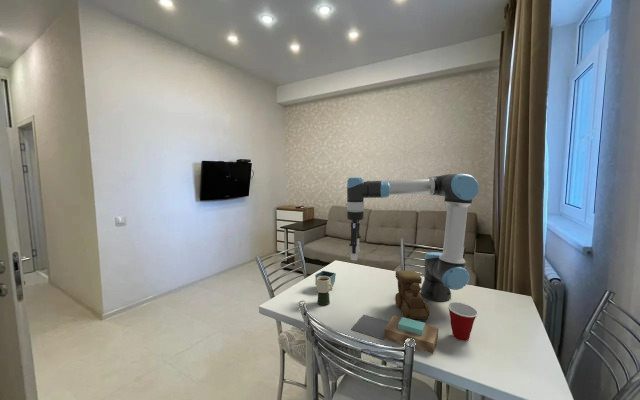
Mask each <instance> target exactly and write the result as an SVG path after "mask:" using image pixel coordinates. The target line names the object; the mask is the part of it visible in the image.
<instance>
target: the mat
mask: <svg viewBox="0 0 640 400" xmlns="http://www.w3.org/2000/svg"><path fill="white" fill-rule="evenodd" d="M389 321H390V320H385V319H381V318H378V317H375V316H370V315H367V314H363V315H361V317H360V318H359V319H358V320H357V322H355V323H354V325H353V326H352V327H351V328H350V331H354V332H357V333H360V334H363V335H366V336H369V337H373V338H376V339H379V340H382V341H384V340H385V339H384V329H385V328H386V326H387V324H388V323H389Z"/></svg>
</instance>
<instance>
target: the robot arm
mask: <svg viewBox="0 0 640 400" xmlns="http://www.w3.org/2000/svg"><path fill="white" fill-rule="evenodd" d="M346 189H347V190H346V194H347V195H346V199H347V201H346V202H347V203H345V206H347V212H346V214H347V215H346V216H347V217H346V219H348V220H349V221H352V222H351V223H350V243H349V244H348V245H349V247H350V261H358V253H360V239H362V237H361V236H360V229H361V228H360V227H361V223H360V221H362V220H364V218H365V217H364V210H365V209H364V207H365V206H364V205H365V204H364V203H365V202H364V201H365V199H367V198H368V199H371V198H372V199H374V198H375V199H376V198H377V199H380V198H381V199H383V198H384V199H385V198H388V197H390V195H391V196H394V195H395V196H397V195H398V196H400V195H424V194H427V195H429V196H438V197H443V198H444V200H443V201H444V203H445V205H446V214H445V215H446V216H445V217H446V218H445V229H444V235H443V236H444V237H443V247H442V252H438V251H437V252H436V251H434V252H433V251H431V252H427V253H425V255H424V271H423V272H424V274H423V275H424V278H423V281H422V283H421V286H420V287H421V290H420V294H421V296H422V297H423V298H425V299H427V300H429V301H430V300H431V301H435V302H447V300H448V301H450V300H451V299H452V292H451V290H452V291H459V290H461V289H463V288H464V287H466V286H467V285H468V283H469V281H470V273H469V272H468V270H467V269H466V260H465V259H464V256H463V255H464V248H465V247H464V246H465V237H466V236H465V235H466V229H467V216H468V209H469V207H470V206H471V205H473V200H474V199H475V198H476V197H477V196H478V194H479V192H480V191H479V190H480V186H479V182H478V180H477V179H476V178H475V177H474V176H473V175H470V174H465V173H448V174H442V175H437V176H436V175H435V176H428V177H427V178H419V179H418V178H417V179H416V178H413V179H412V178H411V179H391V180H388V179H387V180H385V179H384V180H366V181H365V179H364V177H349V178H347V186H346ZM449 299H450V300H449Z"/></svg>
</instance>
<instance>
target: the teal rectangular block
mask: <svg viewBox="0 0 640 400" xmlns="http://www.w3.org/2000/svg"><path fill="white" fill-rule="evenodd" d="M400 318H401V320H400V322H399V323H398V329H401V330H404V331H408V332H411V333H415V334H418V335H423V332H424V330H425V324H426V322H423V321H420V320H416V319H410V318H404V317H403V316H402V317H400Z"/></svg>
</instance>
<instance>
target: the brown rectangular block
mask: <svg viewBox="0 0 640 400" xmlns="http://www.w3.org/2000/svg"><path fill="white" fill-rule="evenodd" d="M401 318H402V317H401V316H400V317H399V316H398V315H397V316H396V315H392V317H391V318H390V320H388V321H389V323H388V324H387V326H386V328H385V329H384V340H387V341H389V342H394V343H396V342H397V344H399V345H403V346H405V345H404V343H405V340H406V339H407V338H412V339H414V340H415V343H416V345H415V348H414V349H416V350H419V351H422V352H426V353H428V354H432V355H434V354H435V349H436V347H437V343H438V339H439V326H434V325H431V324H428V323H425V330H424V332H423V335H418V334H415V333H411V332H408V331H404V330H401V329H398V323H399V322H400V320H401Z"/></svg>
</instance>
